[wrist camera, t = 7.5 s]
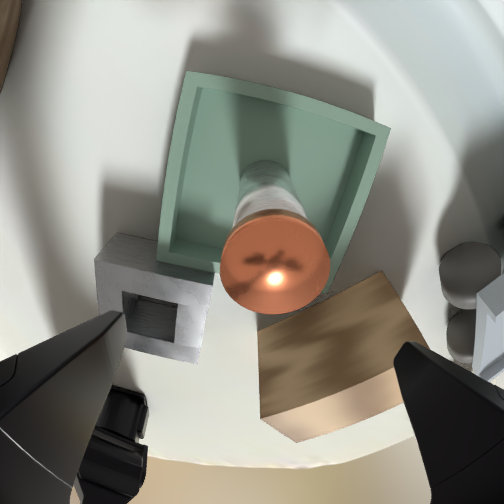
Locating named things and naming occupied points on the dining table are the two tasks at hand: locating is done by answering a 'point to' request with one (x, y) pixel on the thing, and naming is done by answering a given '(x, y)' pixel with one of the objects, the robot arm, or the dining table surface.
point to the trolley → (475, 307)
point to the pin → (272, 245)
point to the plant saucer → (8, 32)
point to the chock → (334, 361)
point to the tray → (256, 149)
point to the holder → (155, 286)
